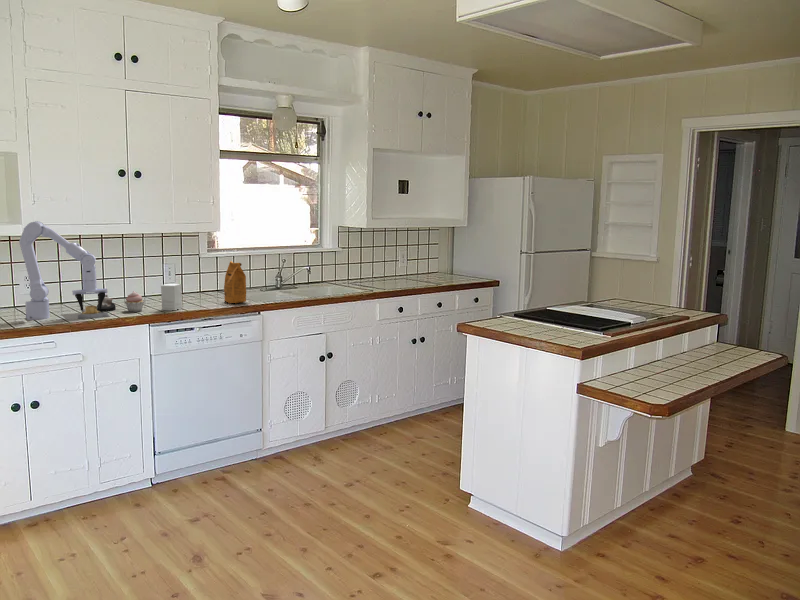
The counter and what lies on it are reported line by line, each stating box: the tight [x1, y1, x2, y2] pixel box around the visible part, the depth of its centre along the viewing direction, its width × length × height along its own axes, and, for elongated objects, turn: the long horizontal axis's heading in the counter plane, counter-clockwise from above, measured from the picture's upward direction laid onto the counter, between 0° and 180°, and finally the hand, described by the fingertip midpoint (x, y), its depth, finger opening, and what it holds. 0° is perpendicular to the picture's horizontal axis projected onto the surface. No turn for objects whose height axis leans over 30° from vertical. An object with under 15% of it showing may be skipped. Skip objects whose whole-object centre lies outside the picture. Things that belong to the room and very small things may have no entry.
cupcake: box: [124, 290, 145, 313], centre depth 334 cm, size 9×9×10 cm
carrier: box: [61, 308, 111, 321], centre depth 314 cm, size 18×17×4 cm
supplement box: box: [160, 283, 183, 311], centre depth 340 cm, size 7×7×13 cm
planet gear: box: [81, 305, 101, 314], centre depth 313 cm, size 7×7×4 cm
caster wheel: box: [96, 294, 117, 312], centre depth 331 cm, size 7×11×10 cm
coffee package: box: [223, 260, 247, 304], centre depth 366 cm, size 10×12×22 cm
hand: (91, 309), depth 312 cm, fingers open, 7 cm apart
